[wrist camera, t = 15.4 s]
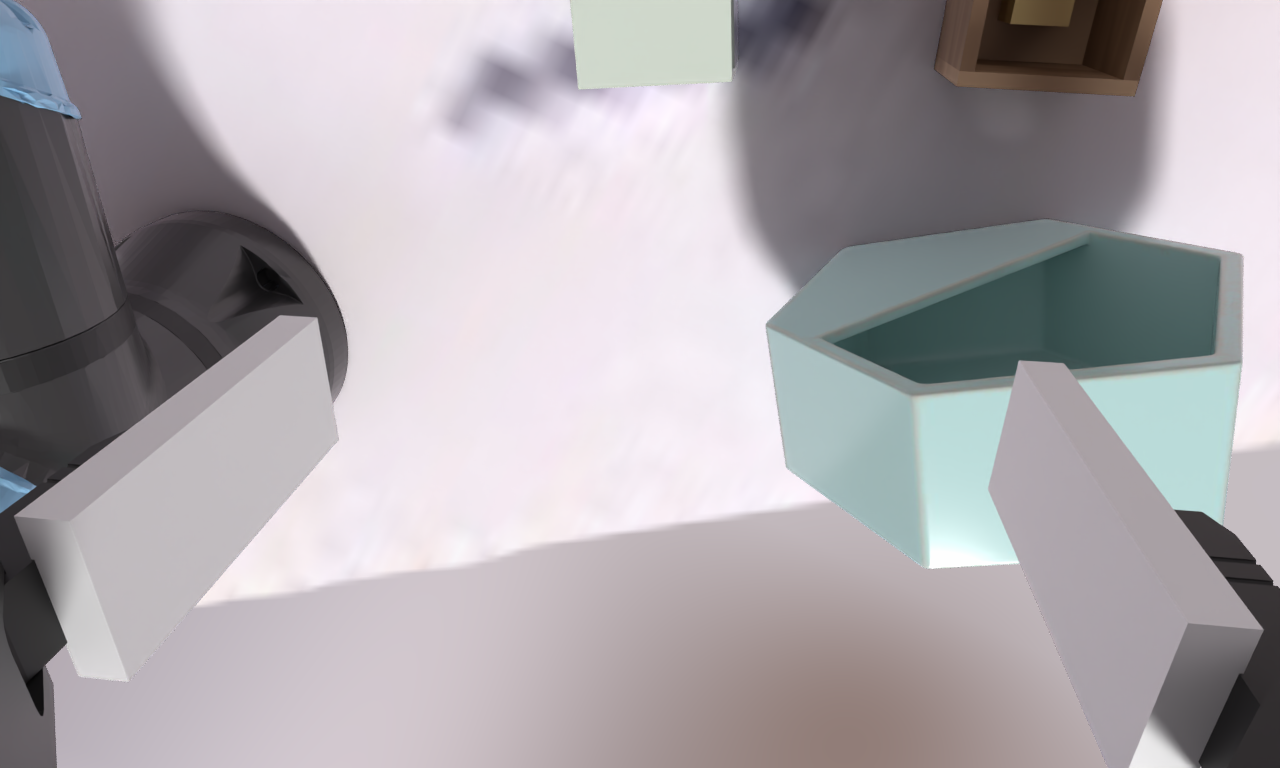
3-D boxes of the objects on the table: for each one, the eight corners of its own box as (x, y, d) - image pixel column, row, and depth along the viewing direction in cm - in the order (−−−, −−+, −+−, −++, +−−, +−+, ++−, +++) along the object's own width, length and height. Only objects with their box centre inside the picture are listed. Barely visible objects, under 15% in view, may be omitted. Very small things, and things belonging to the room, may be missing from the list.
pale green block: (599, 75, 43) (578, 89, 38) (590, -34, 41) (566, -33, 36) (739, 68, 42) (734, 81, 37) (738, -45, 39) (732, -45, 35)
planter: (967, 203, 47) (1405, 278, 29) (972, 329, 50) (1368, 466, 33) (705, 295, 42) (1042, 453, 24) (729, 429, 45) (1042, 655, 28)
